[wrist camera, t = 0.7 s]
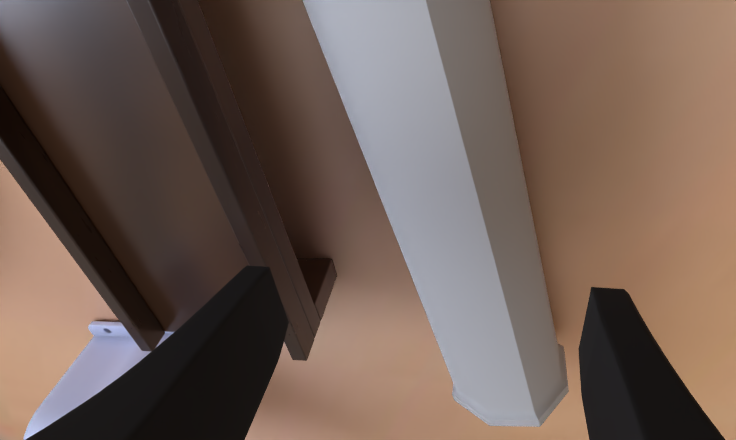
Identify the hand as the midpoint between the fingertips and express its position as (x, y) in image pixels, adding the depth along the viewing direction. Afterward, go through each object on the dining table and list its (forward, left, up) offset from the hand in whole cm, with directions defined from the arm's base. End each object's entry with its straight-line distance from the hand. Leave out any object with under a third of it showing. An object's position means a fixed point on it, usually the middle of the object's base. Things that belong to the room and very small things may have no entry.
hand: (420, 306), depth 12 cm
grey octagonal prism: (0, 0, -10) cm, 10 cm away
